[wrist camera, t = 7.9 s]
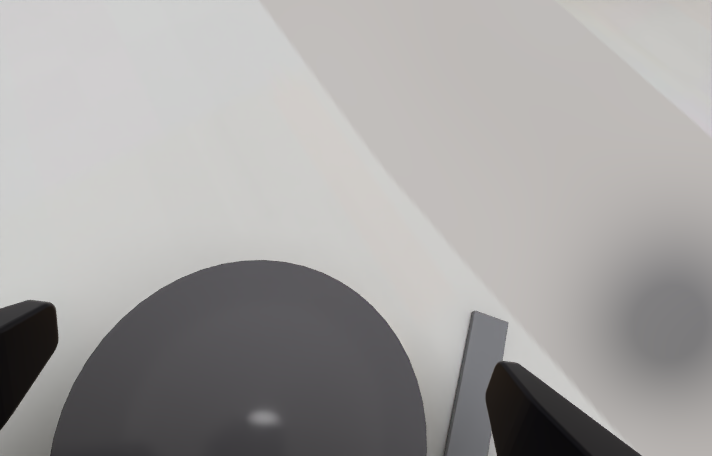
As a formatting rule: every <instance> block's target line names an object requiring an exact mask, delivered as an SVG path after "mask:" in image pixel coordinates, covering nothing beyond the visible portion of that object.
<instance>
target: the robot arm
mask: <svg viewBox="0 0 712 456" xmlns="http://www.w3.org/2000/svg"><path fill="white" fill-rule="evenodd" d="M57 344H58V326H57V315H56V308H55V306H54V305H53V304H52V303H50V302H43V301H35V300H27V301H24V302H20V303H17V304H14V305H11V306H7V307H4V308H1V309H0V430H1V429H2V427H3V426H4V425H5V424H6V422H7V421H8V420H9V418H10V417H11V415H12V414H13V413H14V411H15V410H16V408H17V407H18V405H19V404H20V402H21V401H22V399H23V398H24V396H25V395H26V393H27V392H28V390H29V389H30V387H31V386H32V384H33V383H34V381H35V380H36V378H37V377H38V375H39V374H40V372H41V371H42V369H43V368H44V366H45V365H46V363H47V362H48V360H49V359H50V357H51V356H52V354H53V353H54V351H55V349H56V347H57ZM485 400H486V406H487V411H488V415H489V420H490V425H491V429H492V434H493V439H494V443H495V448H496V453H497V456H641V455H640V454H639V453H637V452H636V451H635V450H633V449H632V448H631V447H629V446H628V445H627V444H625V443H624V442H623V441H621V440H620V439H619V438H617V437H616V436H615V435H613V434H612V433H611V432H609V431H608V430H607V429H605V428H604V427H603V426H601V425H600V424H599V423H597V422H596V421H595V420H593V419H592V418H591V417H589V416H588V415H587V414H585V413H584V412H583V411H581V410H580V409H579V408H577V407H576V406H575V405H573V404H572V403H571V402H569V401H568V400H567V399H565V398H564V397H563V396H561V395H560V394H559V393H557V392H556V391H555V390H553V389H552V388H551V387H549V386H548V385H547V384H545V383H544V382H543V381H541V380H540V379H539V378H537V377H536V376H535V375H533V374H532V373H531V372H529V371H528V370H527V369H525V368H524V367H523V366H521V365H520V364H518V363H515V362H507V361H499V362H498V363H497V364H496V365H495V367H494V370H493V373H492V376H491V378H490V381H489V384H488V387H487V389H486V394H485Z"/></svg>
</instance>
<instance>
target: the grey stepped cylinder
mask: <svg viewBox="0 0 712 456" xmlns="http://www.w3.org/2000/svg"><path fill="white" fill-rule="evenodd" d="M426 453H427V444H426V422H425V415H424V408H423V401H422V397H421V393H420V390H419V386H418V382H417V378H416V376H415V373H414V371H413V368H412V365H411V363H410V360H409V358H408V356H407V354H406V352H405V350H404V348H403V347H402V345H401V343H400V341H399V339H398V338H397V336H396V335H395V333H394V332H393V330H392V329H391V328H390V326H389V325H388V323H387V322H386V321H385V320H384V318H383V317H382V316H381V315H380V314H379V313H378V312H377V311H376V309H375V308H374V307H373V306H372V305H371V304H369V303H368V302H367V301H366V300H365V299H364V298H363V297H361V296H360V295H359V294H358V293H357V292H355V291H354V290H352V289H351V288H349V287H348V286H346V285H345V284H343V283H342V282H340V281H338V280H336V279H334V278H332V277H330V276H328V275H326V274H324V273H322V272H319V271H316V270H313V269H310V268H308V267H305V266H301V265H296V264H291V263H287V262H279V261H267V260H255V261H239V262H233V263H226V264H221V265H217V266H213V267H210V268H206V269H203V270H200V271H197V272H195V273H192V274H190V275H187V276H185V277H182V278H180V279H178V280H176V281H174V282H173V283H171V284H169V285H167V286H165V287H163V288H161V289H160V290H158V291H157V292H155V293H154V294H152V295H151V296H149V297H148V298H147V299H145V300H144V301H142V302H141V303H139V304H138V305H137V306H136V307H135V308H134V309H133V310H131V311H130V312H129V313H128V314H127V315H126V316H125V317H123V318H122V319H121V320H120V321H119V322H118V323H117V324H116V325H115V327H114V328H113V329H112V330H111V331H110V332H109V333H108V334H107V335H106V336H105V337H104V338H103V340H102V341H101V342H100V344H99V345H98V347H97V348H96V349H95V351H94V352H93V353H92V355H91V356H90V357H89V359H88V360H87V362H86V363H85V365H84V367H83V369H82V370H81V372H80V374H79V375H78V377H77V379H76V381H75V382H74V384H73V386H72V389H71V391H70V393H69V395H68V398H67V400H66V402H65V404H64V407H63V409H62V412H61V415H60V418H59V422H58V425H57V428H56V431H55V435H54V438H53V444H52V449H51V455H50V456H426Z"/></svg>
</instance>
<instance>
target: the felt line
mask: <svg viewBox="0 0 712 456" xmlns="http://www.w3.org/2000/svg"><path fill="white" fill-rule="evenodd" d="M507 328H508V322H506V321H503V320H500V319H497V318H494V317H492V316H489V315H486V314H483V313H481V312H478V311H473V312H472V316H471V321H470V326H469V332H468V337H467V342H466V347H465V352H464V357H463V362H462V367H461V372H460V377H459V382H458V387H457V392H456V397H455V403H454V408H453V413H452V418H451V423H450V428H449V433H448V438H447V443H446V448H445V453H444V456H488V450H489V443H490V437H491V430H492V429H491V425H490V420H489V415H488V411H487V406H486V400H485V394H486V389H487V387H488V384H489V381H490V378H491V376H492V373H493V370H494V367H495V365H496V364H497V363H498V362H499V361H502V360H503V354H504V347H505V341H506V334H507Z"/></svg>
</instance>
